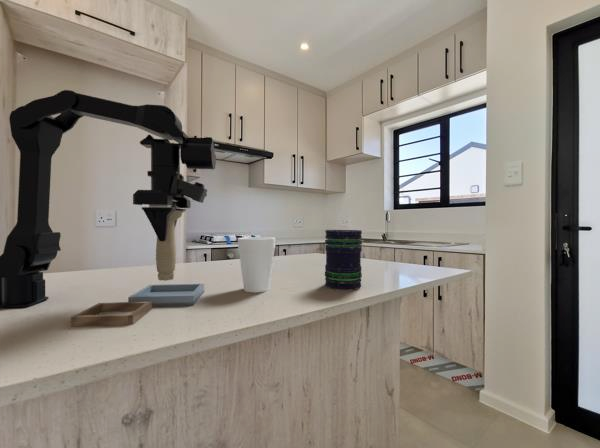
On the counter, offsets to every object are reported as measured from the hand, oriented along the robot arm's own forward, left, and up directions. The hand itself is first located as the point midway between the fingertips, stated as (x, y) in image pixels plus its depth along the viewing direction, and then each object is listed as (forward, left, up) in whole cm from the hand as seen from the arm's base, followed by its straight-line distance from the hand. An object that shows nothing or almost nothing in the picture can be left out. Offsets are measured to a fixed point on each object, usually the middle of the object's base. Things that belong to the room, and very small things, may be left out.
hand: (165, 240), depth 65 cm
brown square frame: (-6, -11, -13) cm, 18 cm away
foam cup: (+19, +8, -13) cm, 25 cm away
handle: (0, 0, -9) cm, 9 cm away
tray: (0, +1, -13) cm, 13 cm away
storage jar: (+42, +10, -13) cm, 46 cm away
